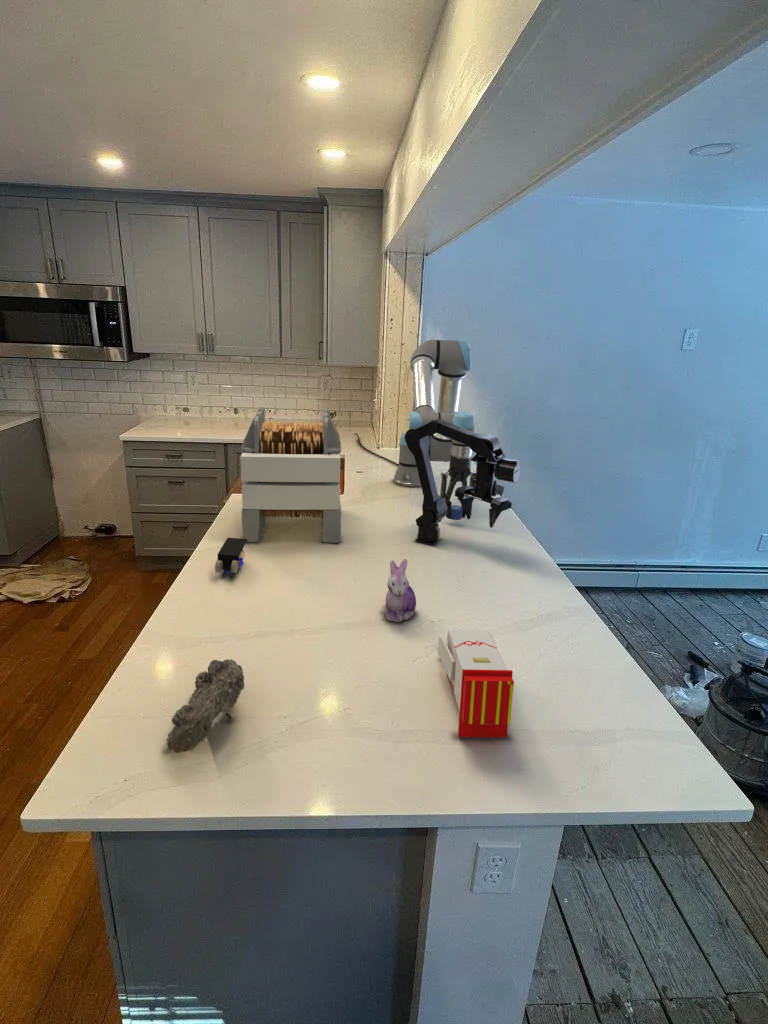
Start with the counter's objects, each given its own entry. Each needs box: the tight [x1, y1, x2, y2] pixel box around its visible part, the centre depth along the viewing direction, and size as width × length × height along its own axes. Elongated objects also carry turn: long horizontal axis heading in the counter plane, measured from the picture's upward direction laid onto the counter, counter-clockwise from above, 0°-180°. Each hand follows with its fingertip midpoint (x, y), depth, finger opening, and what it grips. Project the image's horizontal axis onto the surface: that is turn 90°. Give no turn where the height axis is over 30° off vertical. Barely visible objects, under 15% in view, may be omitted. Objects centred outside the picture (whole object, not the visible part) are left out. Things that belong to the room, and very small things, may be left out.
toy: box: [437, 628, 515, 738], centre depth 117 cm, size 12×13×30 cm
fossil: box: [166, 658, 245, 754], centre depth 106 cm, size 22×10×15 cm
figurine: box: [384, 558, 417, 623], centre depth 145 cm, size 9×10×15 cm
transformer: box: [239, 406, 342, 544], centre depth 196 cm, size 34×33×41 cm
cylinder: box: [449, 504, 463, 521], centre depth 209 cm, size 5×5×4 cm
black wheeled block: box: [214, 537, 248, 578], centre depth 166 cm, size 7×8×15 cm
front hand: (479, 523), depth 182 cm, fingers open, 9 cm apart
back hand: (455, 517), depth 210 cm, fingers closed on cylinder, 5 cm apart
